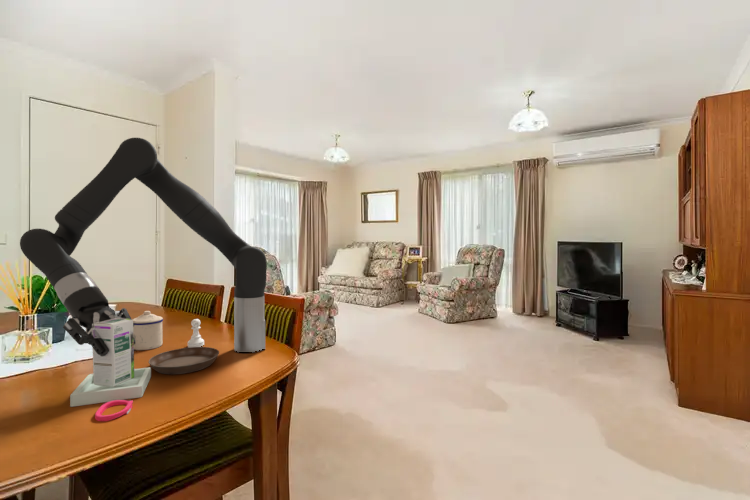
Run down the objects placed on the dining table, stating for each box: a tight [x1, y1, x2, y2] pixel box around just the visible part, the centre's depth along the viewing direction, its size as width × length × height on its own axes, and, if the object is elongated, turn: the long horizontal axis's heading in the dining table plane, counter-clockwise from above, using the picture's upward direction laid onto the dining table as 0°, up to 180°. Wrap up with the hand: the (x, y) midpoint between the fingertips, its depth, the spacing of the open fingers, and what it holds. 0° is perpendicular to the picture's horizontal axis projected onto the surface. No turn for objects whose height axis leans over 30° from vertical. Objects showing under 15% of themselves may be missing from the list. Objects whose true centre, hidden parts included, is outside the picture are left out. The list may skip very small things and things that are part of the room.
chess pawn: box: [187, 318, 205, 348], centre depth 123 cm, size 5×5×9 cm
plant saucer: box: [148, 346, 220, 375], centre depth 105 cm, size 18×18×3 cm
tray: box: [69, 366, 152, 408], centre depth 87 cm, size 13×13×2 cm
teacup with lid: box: [132, 310, 164, 351], centre depth 121 cm, size 12×9×12 cm
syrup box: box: [92, 318, 135, 387], centre depth 87 cm, size 6×6×14 cm
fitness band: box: [94, 399, 134, 422], centre depth 77 cm, size 8×6×2 cm
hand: (119, 349), depth 86 cm, fingers closed on syrup box, 6 cm apart
